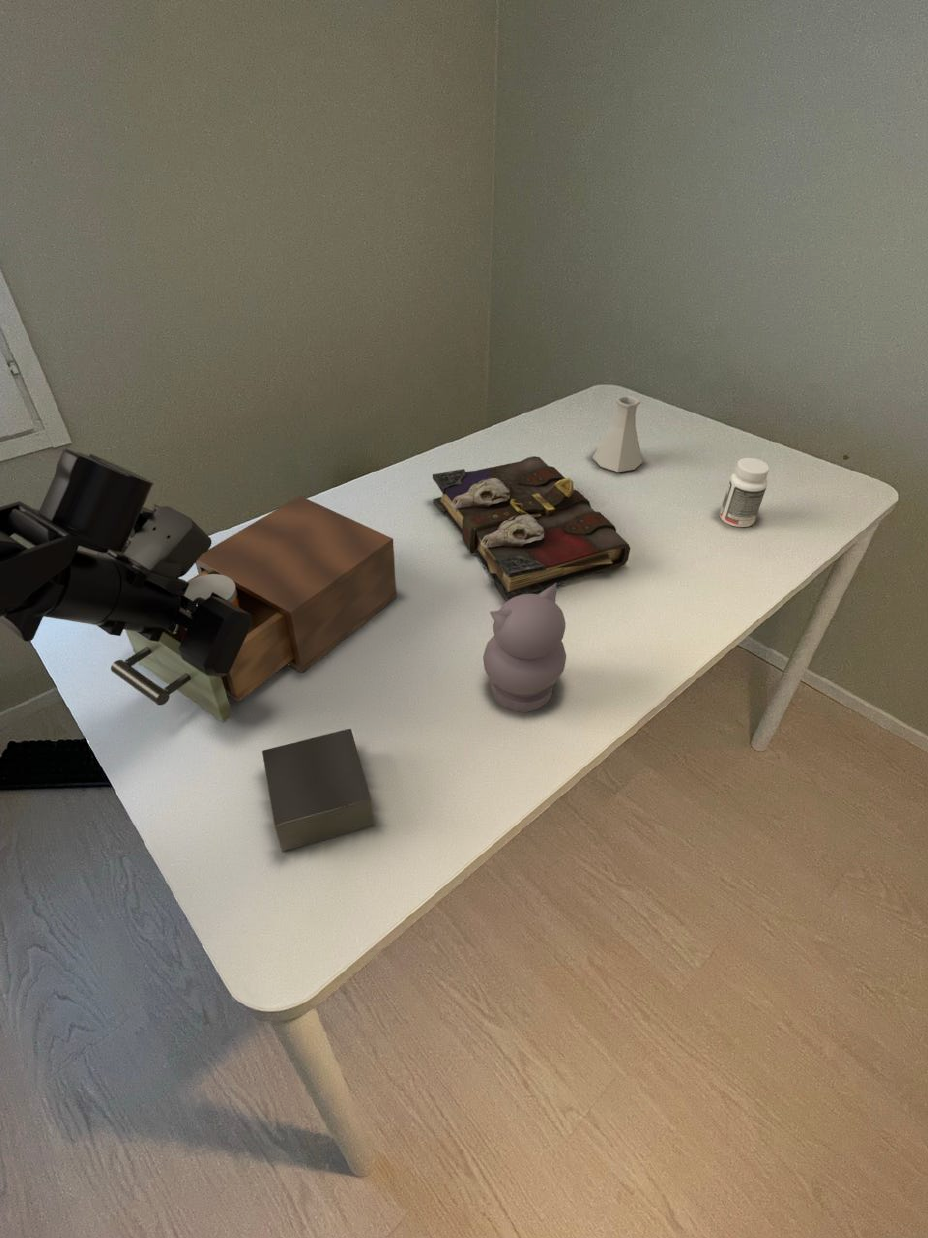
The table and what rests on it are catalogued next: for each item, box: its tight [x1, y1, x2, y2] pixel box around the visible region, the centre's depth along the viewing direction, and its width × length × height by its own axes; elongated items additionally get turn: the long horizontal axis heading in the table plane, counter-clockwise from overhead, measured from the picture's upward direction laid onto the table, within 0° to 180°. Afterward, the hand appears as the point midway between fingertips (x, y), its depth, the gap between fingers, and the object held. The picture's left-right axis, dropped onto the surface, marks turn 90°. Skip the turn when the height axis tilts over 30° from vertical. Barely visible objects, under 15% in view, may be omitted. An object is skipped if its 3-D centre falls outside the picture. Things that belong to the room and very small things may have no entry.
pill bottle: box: [719, 457, 770, 528], centre depth 95 cm, size 5×5×8 cm
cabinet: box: [195, 495, 397, 674], centre depth 80 cm, size 16×15×9 cm
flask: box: [592, 395, 643, 473], centre depth 106 cm, size 7×7×10 cm
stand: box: [261, 728, 375, 853], centre depth 62 cm, size 8×8×4 cm
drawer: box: [110, 570, 295, 723], centre depth 72 cm, size 18×13×7 cm
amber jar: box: [185, 574, 240, 614], centre depth 71 cm, size 5×5×8 cm
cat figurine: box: [482, 583, 567, 713], centre depth 70 cm, size 8×8×12 cm
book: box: [432, 455, 631, 603], centre depth 92 cm, size 26×18×7 cm
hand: (228, 618), depth 73 cm, fingers closed on amber jar, 5 cm apart
